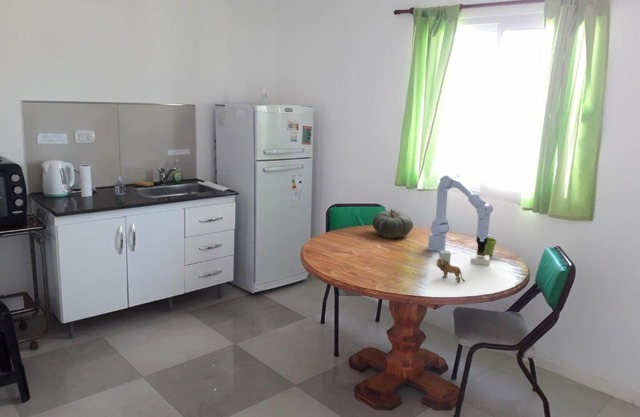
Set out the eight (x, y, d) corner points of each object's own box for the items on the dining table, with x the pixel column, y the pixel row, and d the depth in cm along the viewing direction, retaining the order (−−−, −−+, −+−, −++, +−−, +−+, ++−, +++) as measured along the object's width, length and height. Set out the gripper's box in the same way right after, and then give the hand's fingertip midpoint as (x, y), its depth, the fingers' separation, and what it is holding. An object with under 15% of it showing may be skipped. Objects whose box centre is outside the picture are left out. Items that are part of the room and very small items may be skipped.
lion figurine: (433, 276, 238) (435, 258, 236) (438, 273, 242) (439, 256, 240) (463, 283, 229) (464, 265, 227) (467, 280, 233) (469, 262, 231)
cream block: (470, 263, 259) (471, 258, 259) (471, 258, 268) (472, 253, 267) (488, 265, 257) (489, 260, 256) (489, 260, 265) (489, 255, 264)
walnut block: (476, 255, 260) (477, 246, 259) (477, 253, 264) (477, 244, 263) (484, 256, 259) (485, 246, 258) (484, 253, 262) (485, 244, 261)
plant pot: (496, 257, 269) (498, 242, 267) (478, 256, 270) (479, 241, 269) (494, 252, 278) (495, 238, 276) (476, 251, 279) (478, 236, 278)
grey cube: (440, 262, 260) (441, 253, 259) (438, 259, 265) (439, 250, 264) (450, 262, 260) (450, 253, 258) (448, 259, 264) (448, 250, 263)
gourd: (399, 224, 327) (400, 200, 320) (420, 240, 306) (422, 214, 299) (366, 231, 318) (366, 207, 311) (385, 248, 297) (386, 222, 290)
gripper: (491, 230, 250) (488, 256, 253) (491, 223, 263) (488, 248, 266) (476, 229, 252) (474, 254, 255) (477, 222, 266) (475, 246, 269)
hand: (480, 251), depth 261 cm, fingers closed on walnut block, 4 cm apart
